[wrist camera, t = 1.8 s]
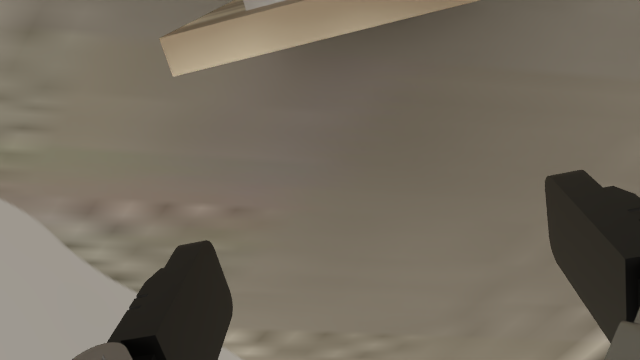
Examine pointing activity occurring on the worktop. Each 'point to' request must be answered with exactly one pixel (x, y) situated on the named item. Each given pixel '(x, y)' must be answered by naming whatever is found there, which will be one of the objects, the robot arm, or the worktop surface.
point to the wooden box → (279, 27)
